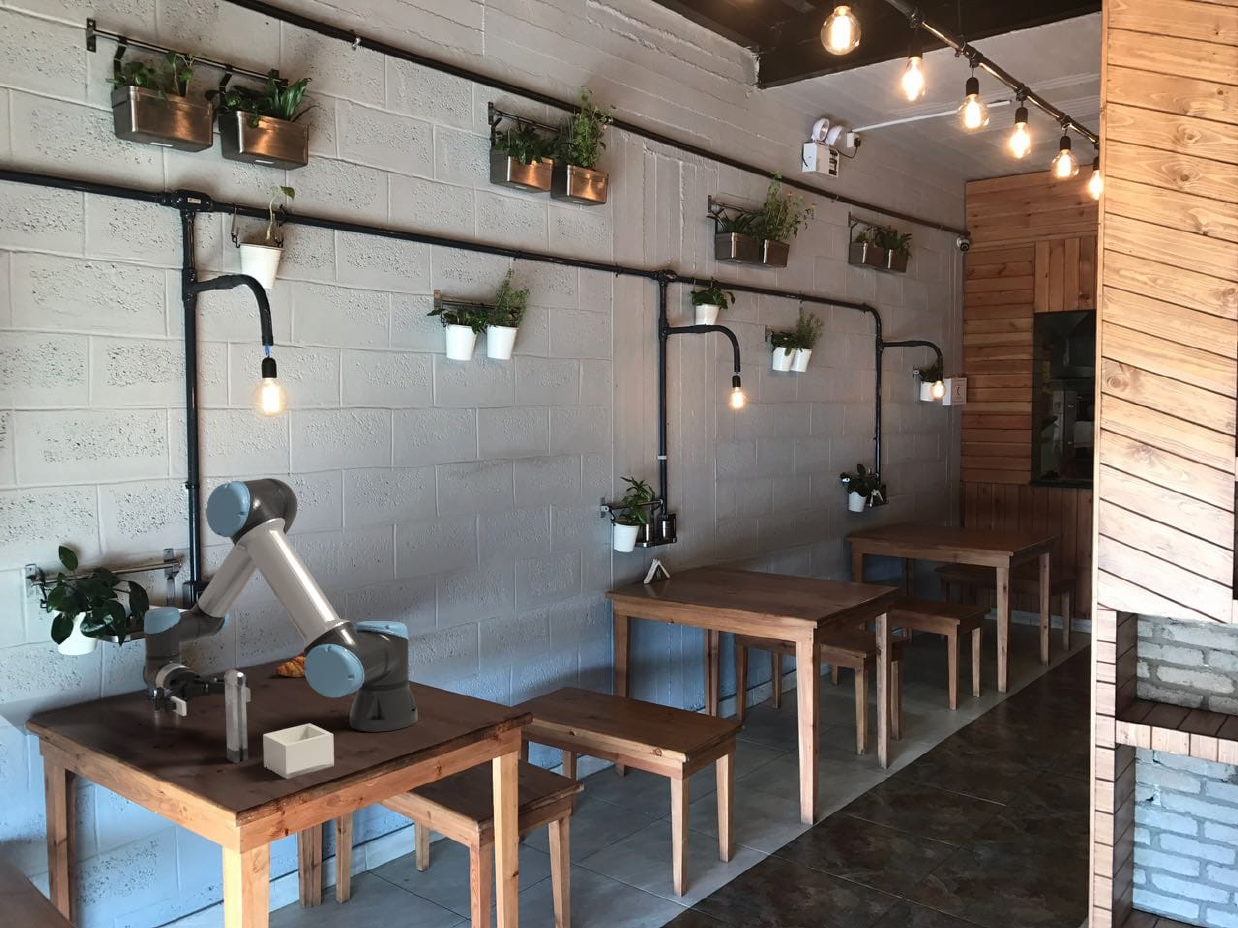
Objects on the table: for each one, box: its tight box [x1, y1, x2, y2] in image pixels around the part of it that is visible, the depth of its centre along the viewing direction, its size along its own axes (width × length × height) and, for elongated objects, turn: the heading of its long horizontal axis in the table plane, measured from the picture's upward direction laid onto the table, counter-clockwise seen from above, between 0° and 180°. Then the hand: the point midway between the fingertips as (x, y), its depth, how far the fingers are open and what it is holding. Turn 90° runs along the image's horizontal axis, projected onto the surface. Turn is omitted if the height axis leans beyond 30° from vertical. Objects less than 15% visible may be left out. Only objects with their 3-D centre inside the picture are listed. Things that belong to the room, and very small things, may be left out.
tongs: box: [223, 669, 249, 764], centre depth 204 cm, size 3×5×18 cm, turn 44°
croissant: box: [275, 651, 306, 678], centre depth 273 cm, size 21×10×8 cm, turn 127°
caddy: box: [262, 722, 335, 780], centre depth 200 cm, size 10×10×6 cm
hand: (217, 702), depth 211 cm, fingers open, 13 cm apart
